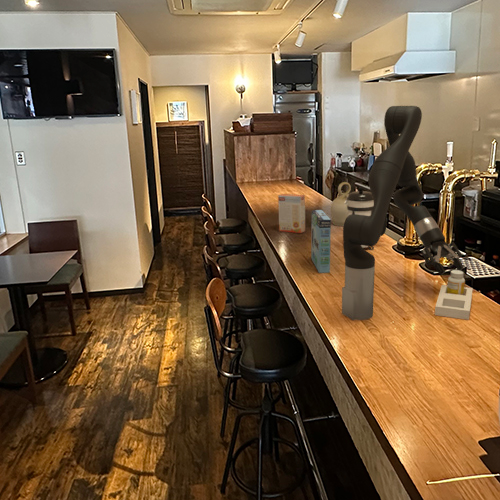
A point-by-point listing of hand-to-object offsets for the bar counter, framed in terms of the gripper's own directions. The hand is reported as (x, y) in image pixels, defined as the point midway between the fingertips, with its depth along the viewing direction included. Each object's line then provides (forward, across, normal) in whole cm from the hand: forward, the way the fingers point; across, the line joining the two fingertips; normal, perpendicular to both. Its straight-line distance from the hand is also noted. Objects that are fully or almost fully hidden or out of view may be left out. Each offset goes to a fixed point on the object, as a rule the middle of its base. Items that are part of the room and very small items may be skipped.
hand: (452, 271), depth 160 cm
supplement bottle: (+8, 0, +5) cm, 10 cm away
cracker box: (-73, +1, +87) cm, 114 cm away
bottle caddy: (+11, -4, +3) cm, 12 cm away
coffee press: (-40, +13, +54) cm, 68 cm away
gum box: (-31, -19, +44) cm, 57 cm away
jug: (-72, +35, +85) cm, 117 cm away
